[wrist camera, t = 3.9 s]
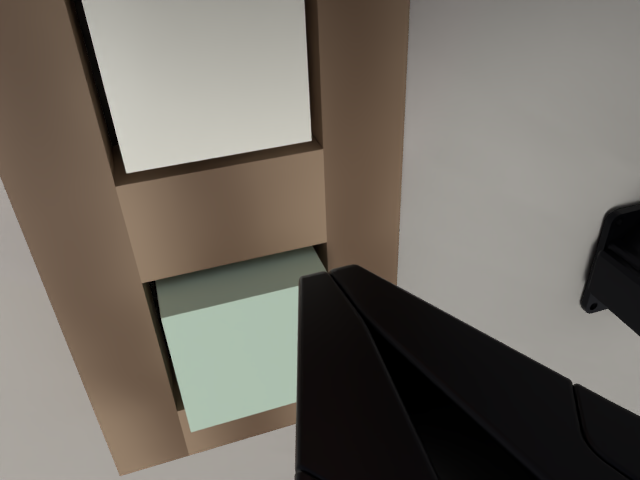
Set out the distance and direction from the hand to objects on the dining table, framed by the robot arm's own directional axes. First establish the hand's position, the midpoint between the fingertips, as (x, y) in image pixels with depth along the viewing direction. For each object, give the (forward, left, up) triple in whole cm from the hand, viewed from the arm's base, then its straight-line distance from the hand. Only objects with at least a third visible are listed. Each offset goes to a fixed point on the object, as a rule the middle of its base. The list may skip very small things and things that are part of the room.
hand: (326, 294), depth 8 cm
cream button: (0, -1, -13) cm, 13 cm away
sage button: (0, +10, -11) cm, 15 cm away
